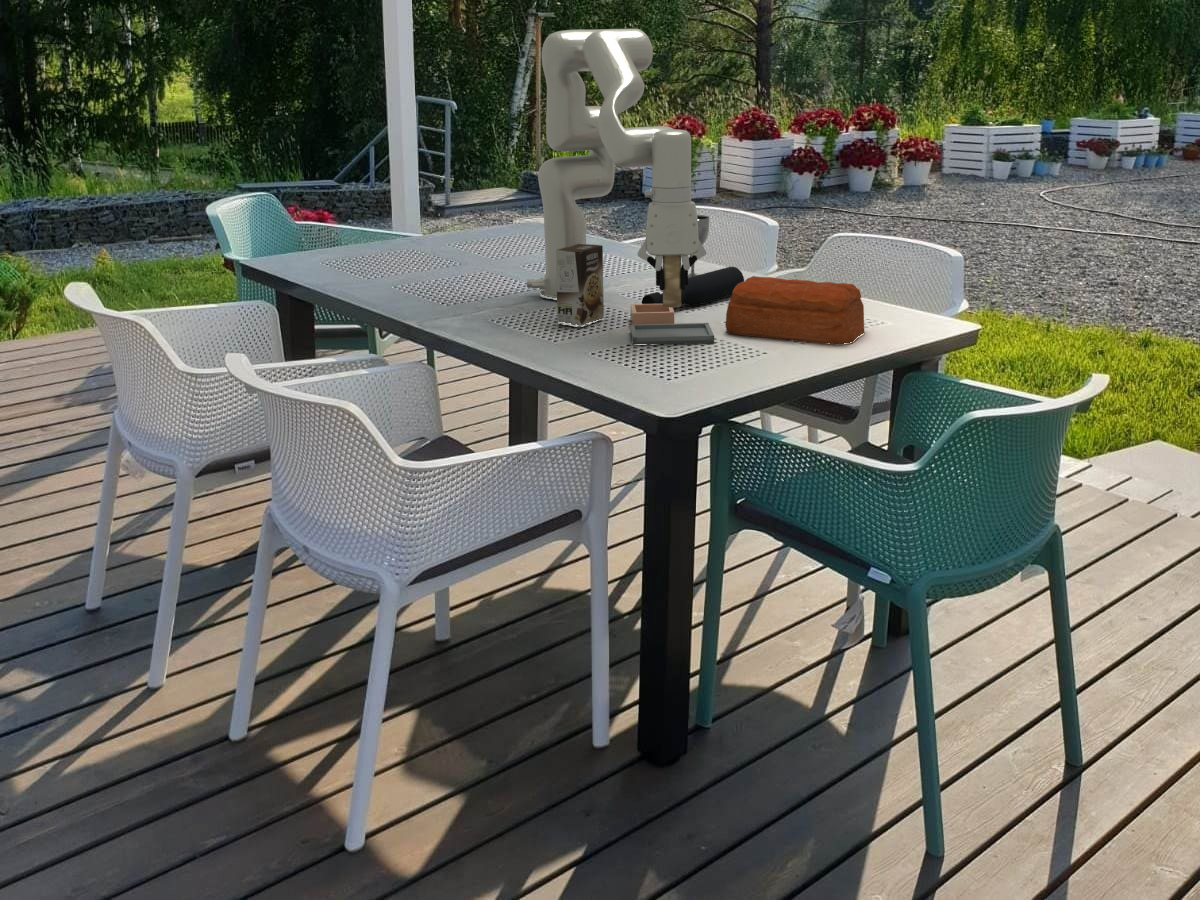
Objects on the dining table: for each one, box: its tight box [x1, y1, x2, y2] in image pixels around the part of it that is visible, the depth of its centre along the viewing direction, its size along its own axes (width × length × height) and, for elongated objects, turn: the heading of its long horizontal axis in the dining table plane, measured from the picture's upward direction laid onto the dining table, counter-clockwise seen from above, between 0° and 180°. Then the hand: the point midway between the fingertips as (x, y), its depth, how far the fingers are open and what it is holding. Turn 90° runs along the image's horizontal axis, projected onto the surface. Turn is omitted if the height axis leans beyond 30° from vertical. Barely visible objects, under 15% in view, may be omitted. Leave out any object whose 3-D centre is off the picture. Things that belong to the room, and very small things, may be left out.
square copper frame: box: [630, 303, 675, 325], centre depth 260 cm, size 9×9×3 cm
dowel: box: [662, 255, 682, 308], centre depth 244 cm, size 4×4×11 cm
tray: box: [629, 322, 715, 346], centre depth 248 cm, size 16×11×2 cm
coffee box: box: [556, 243, 605, 325], centre depth 260 cm, size 9×6×16 cm
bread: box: [725, 275, 865, 345], centre depth 249 cm, size 16×27×11 cm, turn 63°
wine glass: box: [688, 214, 710, 278], centre depth 302 cm, size 8×8×15 cm
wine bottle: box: [641, 266, 745, 306], centre depth 275 cm, size 6×6×30 cm
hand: (672, 288), depth 245 cm, fingers closed on dowel, 3 cm apart
